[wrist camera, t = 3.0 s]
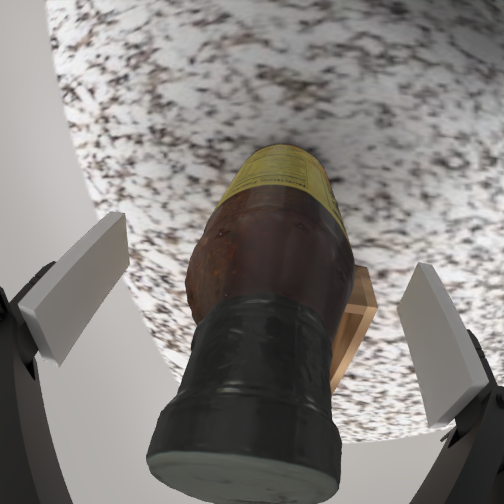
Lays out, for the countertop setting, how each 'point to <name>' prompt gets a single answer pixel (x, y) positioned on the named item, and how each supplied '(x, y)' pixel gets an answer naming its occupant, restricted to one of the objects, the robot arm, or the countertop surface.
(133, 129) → the countertop surface
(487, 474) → the robot arm
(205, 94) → the countertop surface
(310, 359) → the sauce bottle
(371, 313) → the caddy
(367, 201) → the countertop surface
